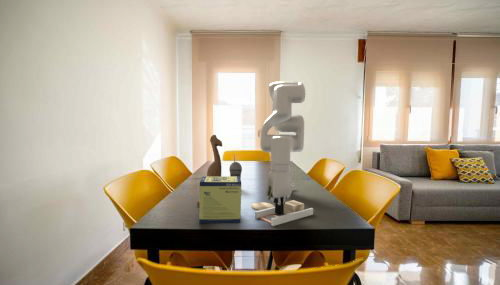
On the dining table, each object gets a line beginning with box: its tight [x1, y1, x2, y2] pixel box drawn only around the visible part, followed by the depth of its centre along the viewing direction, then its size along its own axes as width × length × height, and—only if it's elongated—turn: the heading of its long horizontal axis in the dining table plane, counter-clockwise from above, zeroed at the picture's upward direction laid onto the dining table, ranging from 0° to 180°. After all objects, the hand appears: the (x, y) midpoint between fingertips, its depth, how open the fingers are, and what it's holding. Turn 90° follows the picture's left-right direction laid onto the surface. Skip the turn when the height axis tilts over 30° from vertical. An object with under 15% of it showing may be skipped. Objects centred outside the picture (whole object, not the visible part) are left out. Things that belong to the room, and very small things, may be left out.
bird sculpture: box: [196, 134, 223, 207], centre depth 117 cm, size 11×12×32 cm
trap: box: [258, 214, 280, 224], centre depth 99 cm, size 7×8×1 cm
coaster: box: [250, 201, 275, 211], centre depth 115 cm, size 10×10×1 cm
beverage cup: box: [229, 154, 243, 179], centre depth 146 cm, size 7×7×20 cm
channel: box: [254, 206, 314, 227], centre depth 103 cm, size 22×10×2 cm, turn 127°
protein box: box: [198, 175, 242, 224], centre depth 99 cm, size 10×16×16 cm
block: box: [283, 199, 305, 215], centre depth 106 cm, size 6×6×5 cm
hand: (279, 213), depth 101 cm, fingers closed
